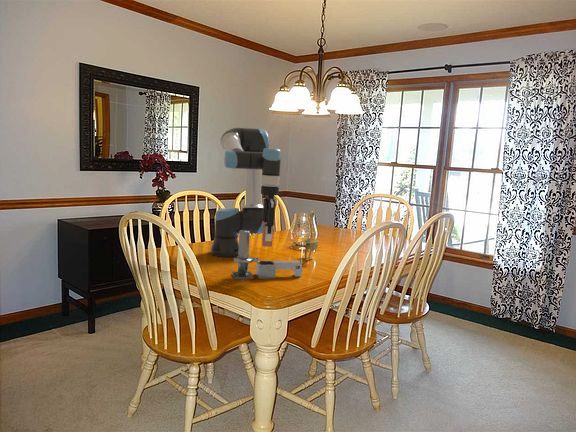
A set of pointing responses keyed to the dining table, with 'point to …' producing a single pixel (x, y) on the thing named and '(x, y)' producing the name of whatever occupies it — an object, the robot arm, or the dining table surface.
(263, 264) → the bracket
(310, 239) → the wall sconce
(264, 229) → the wedge pin
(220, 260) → the dining table surface
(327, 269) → the dining table surface
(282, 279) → the dining table surface
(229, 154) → the robot arm
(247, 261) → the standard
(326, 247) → the dining table surface
